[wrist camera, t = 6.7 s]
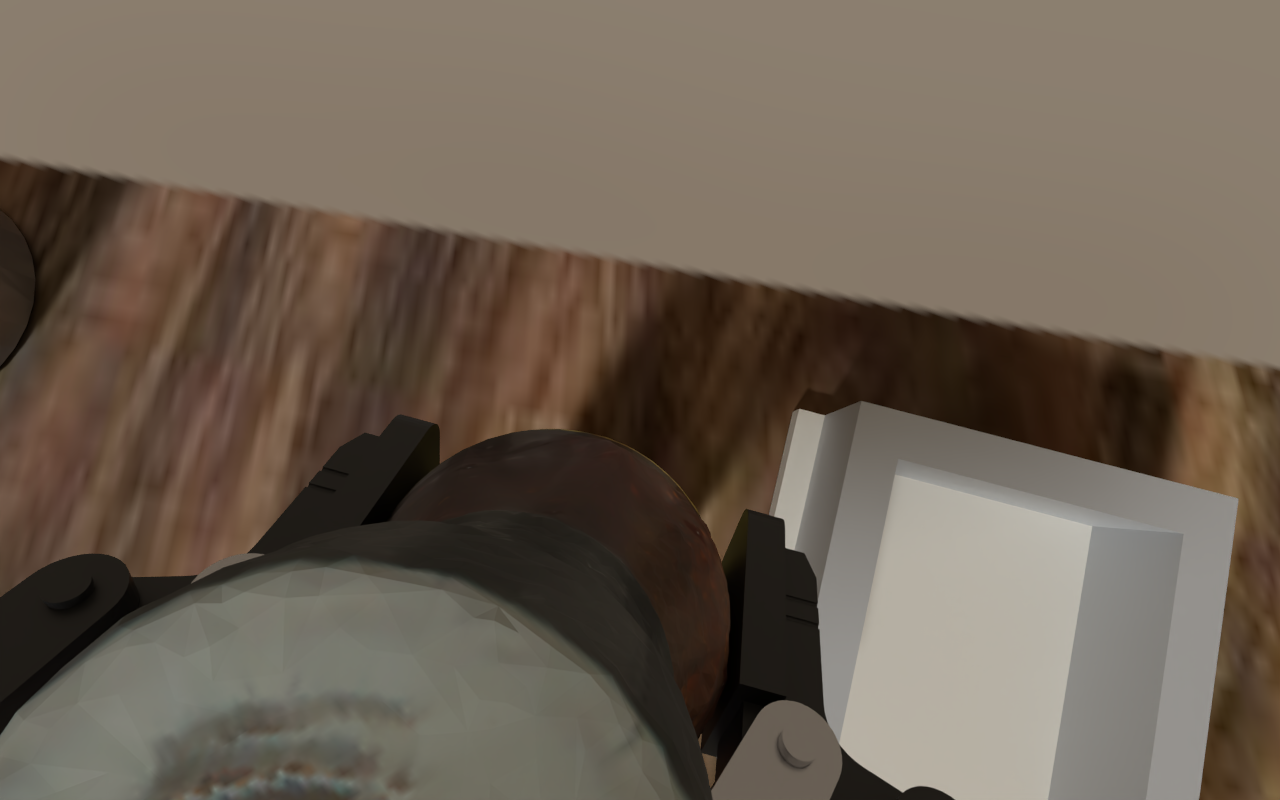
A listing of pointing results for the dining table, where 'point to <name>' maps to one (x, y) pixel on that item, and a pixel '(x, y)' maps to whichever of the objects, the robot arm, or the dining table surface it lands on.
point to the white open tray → (1006, 609)
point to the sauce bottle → (417, 652)
